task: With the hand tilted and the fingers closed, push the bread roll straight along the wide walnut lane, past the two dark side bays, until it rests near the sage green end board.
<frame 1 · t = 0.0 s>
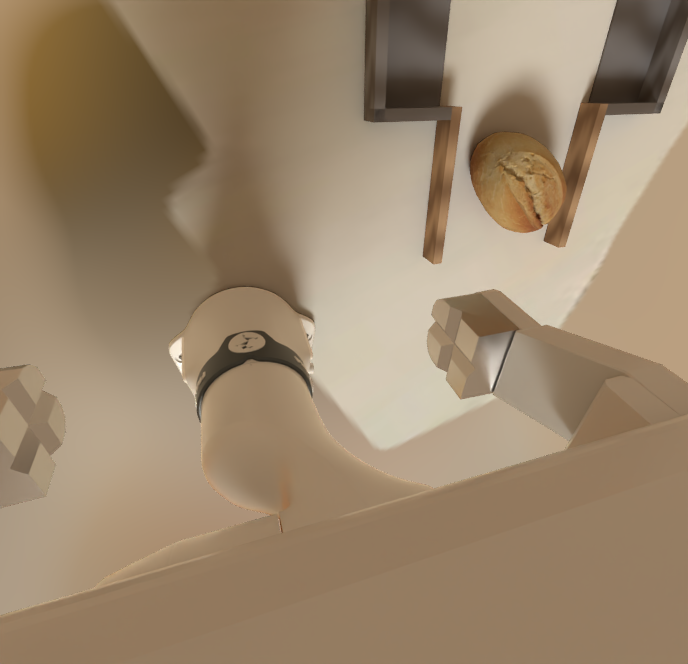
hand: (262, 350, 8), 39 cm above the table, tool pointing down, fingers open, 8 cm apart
bread roll: (500, 182, 52), on the table
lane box: (527, 53, 45), on the table
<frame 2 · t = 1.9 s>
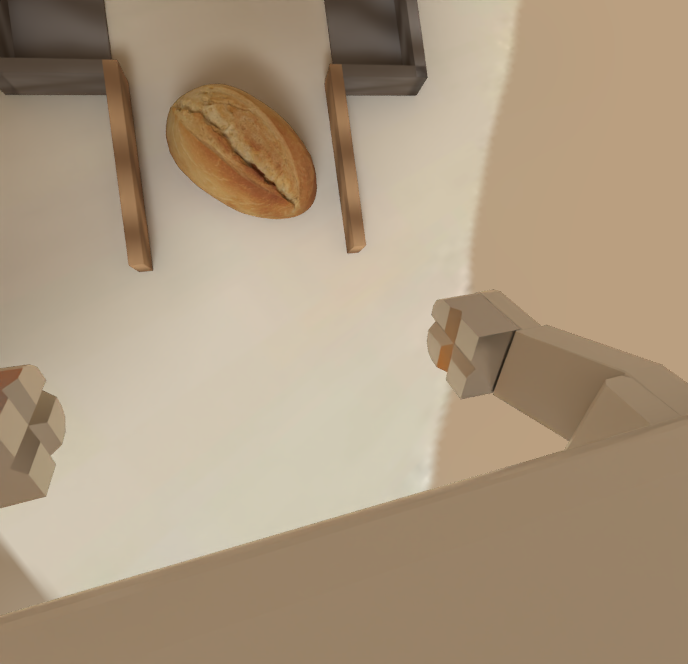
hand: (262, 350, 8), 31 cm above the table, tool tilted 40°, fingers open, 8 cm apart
bread roll: (243, 173, 40), on the table
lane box: (224, 33, 39), on the table
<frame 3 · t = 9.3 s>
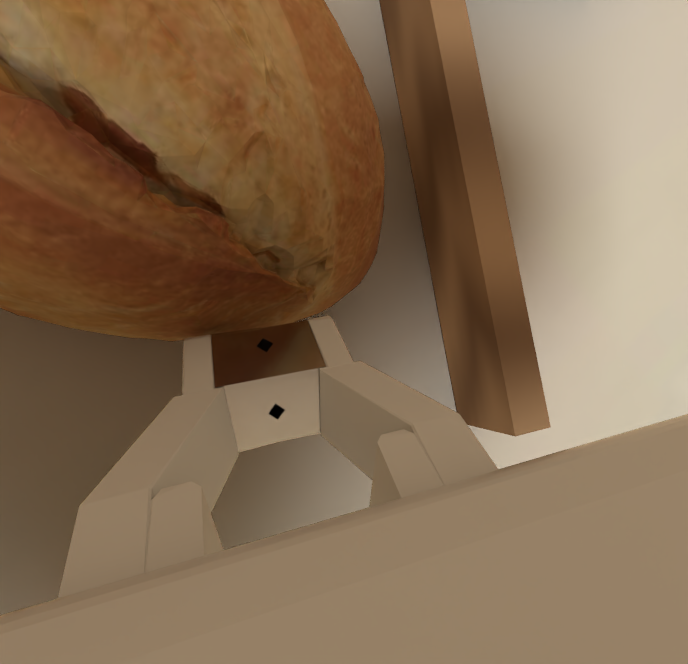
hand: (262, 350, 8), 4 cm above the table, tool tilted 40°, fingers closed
bread roll: (134, 178, 12), on the table, touching gripper
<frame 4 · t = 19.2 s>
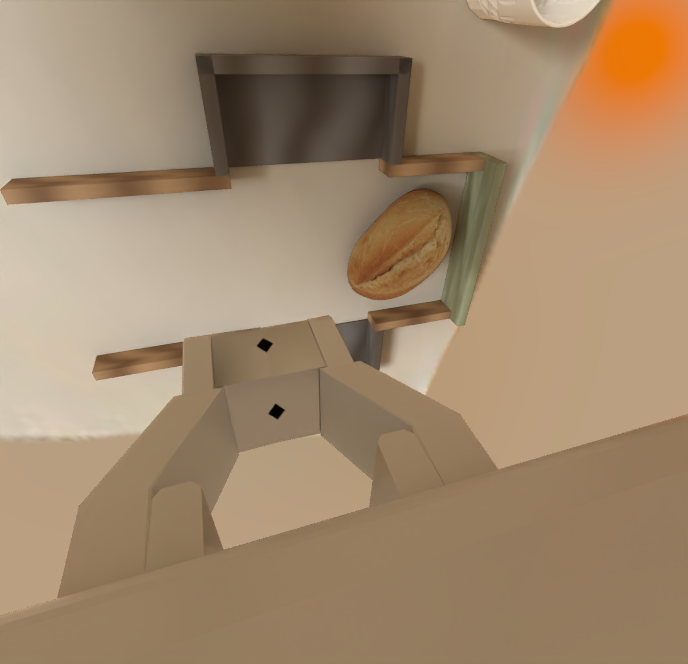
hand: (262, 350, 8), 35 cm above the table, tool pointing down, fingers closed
bread roll: (386, 235, 49), on the table
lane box: (285, 259, 46), on the table
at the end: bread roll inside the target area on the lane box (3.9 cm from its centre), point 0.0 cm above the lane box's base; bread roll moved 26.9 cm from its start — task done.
